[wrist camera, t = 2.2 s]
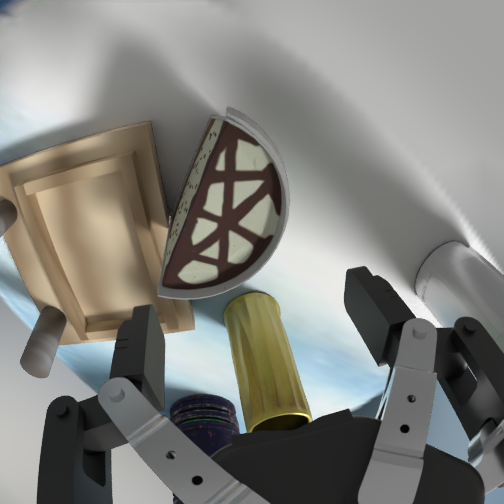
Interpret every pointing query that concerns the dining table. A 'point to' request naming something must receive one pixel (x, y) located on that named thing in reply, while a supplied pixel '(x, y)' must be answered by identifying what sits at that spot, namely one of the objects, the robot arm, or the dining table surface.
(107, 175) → the carrier board
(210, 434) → the storage jar
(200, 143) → the half lattice cake
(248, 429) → the vase
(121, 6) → the dining table surface
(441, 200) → the dining table surface
